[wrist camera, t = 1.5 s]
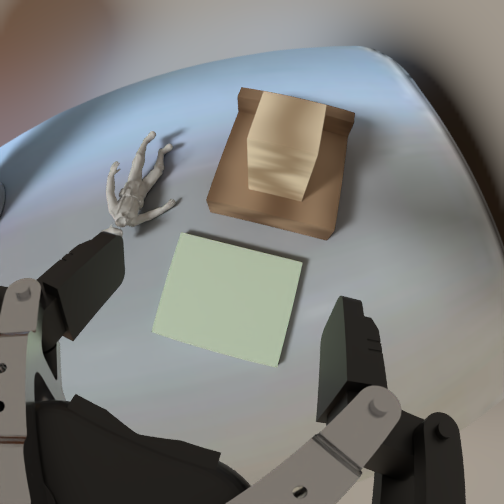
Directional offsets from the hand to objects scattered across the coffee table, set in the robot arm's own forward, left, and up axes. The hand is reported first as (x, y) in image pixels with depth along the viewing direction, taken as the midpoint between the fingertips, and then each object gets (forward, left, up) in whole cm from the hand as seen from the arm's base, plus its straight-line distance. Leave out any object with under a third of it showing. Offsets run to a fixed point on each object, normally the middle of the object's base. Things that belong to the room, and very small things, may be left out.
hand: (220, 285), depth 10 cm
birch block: (0, +13, -15) cm, 20 cm away
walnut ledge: (0, +14, -18) cm, 23 cm away
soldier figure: (-14, +9, -18) cm, 25 cm away
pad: (-2, +1, -18) cm, 18 cm away
